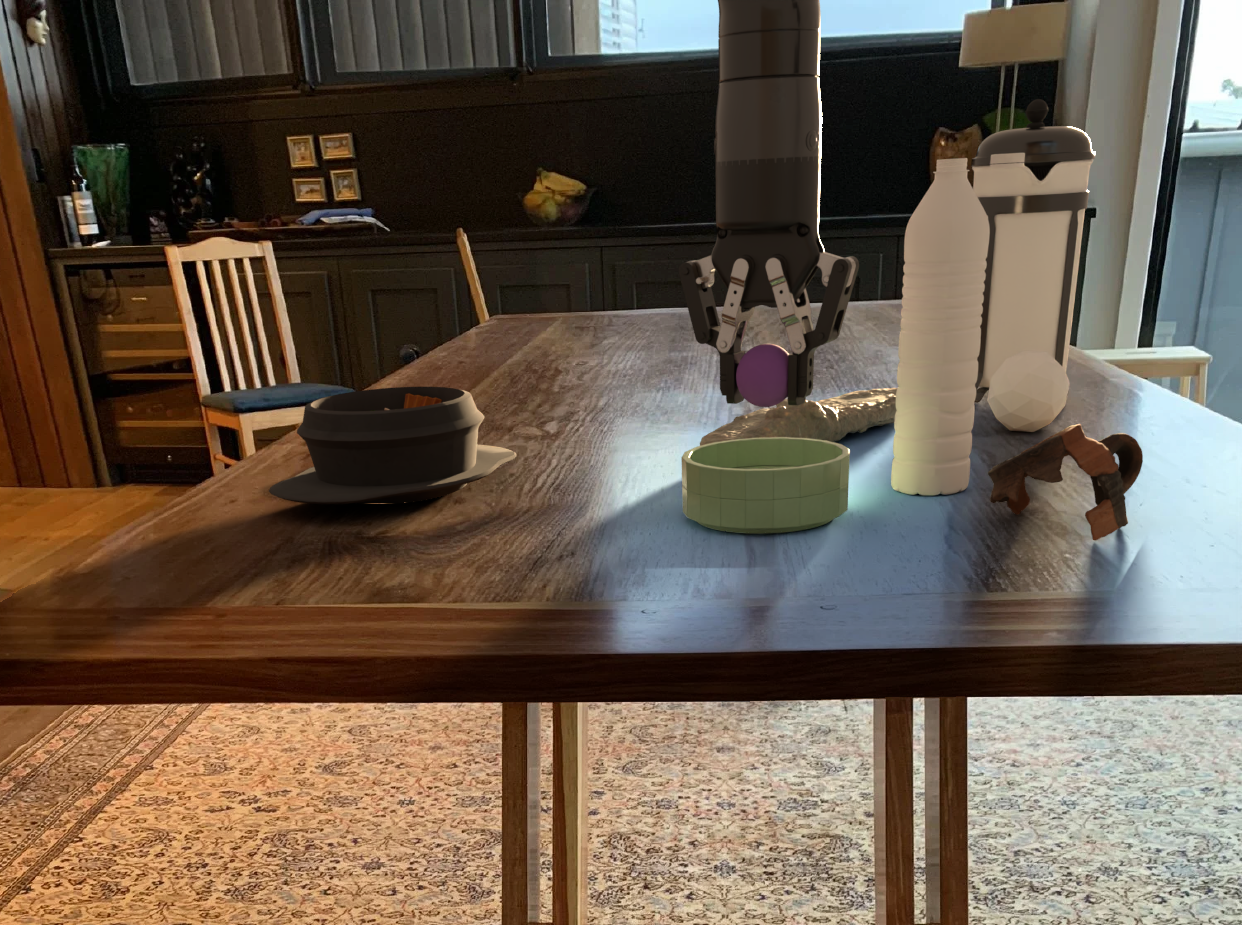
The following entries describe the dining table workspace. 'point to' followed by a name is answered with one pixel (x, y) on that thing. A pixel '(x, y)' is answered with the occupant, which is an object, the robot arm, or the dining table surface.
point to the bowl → (765, 484)
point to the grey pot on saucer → (391, 447)
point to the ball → (763, 375)
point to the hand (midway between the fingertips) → (765, 401)
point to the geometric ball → (1028, 391)
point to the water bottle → (941, 332)
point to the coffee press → (1031, 240)
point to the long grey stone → (813, 418)
